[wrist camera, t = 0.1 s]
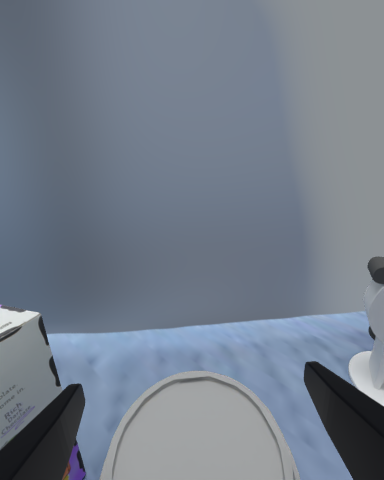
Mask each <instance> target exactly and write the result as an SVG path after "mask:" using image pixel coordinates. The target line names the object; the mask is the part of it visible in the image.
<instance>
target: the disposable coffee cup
mask: <svg viewBox="0 0 384 480" xmlns="http://www.w3.org/2000/svg"><path fill="white" fill-rule="evenodd" d="M100 480H300V476H299V473H298V470H297V467H296V464H295V462H294V459H293V456H292V453H291V450H290V449H289V447H288V445H287V443H286V441H285V439H284V436H283V434H282V432H281V430H280V428H279V427H278V425H277V423H276V421H275V419H274V417H273V416H272V414H271V412H270V410H269V409H268V408H267V407H266V406H265V405H264V404H263V403H262V401H261V400H260V399H259V398H258V397H257V396H256V395H255V394H254V393H253V392H252V391H251V390H249V389H248V388H247V387H245V386H244V385H242V384H241V383H240V382H238V381H236V380H234V379H232V378H230V377H228V376H225V375H221V374H217V373H212V372H208V371H189V372H183V373H178V374H175V375H172V376H169V377H167V378H165V379H163V380H161V381H159V382H158V383H156V384H155V385H153V386H152V387H150V388H149V389H147V390H146V391H145V392H144V393H143V394H142V395H141V396H140V397H139V398H138V399H137V400H136V401H135V402H134V403H133V404H132V406H131V407H130V408H129V410H128V411H127V413H126V414H125V415H124V417H123V418H122V420H121V422H120V424H119V426H118V428H117V430H116V432H115V434H114V436H113V438H112V441H111V444H110V448H109V451H108V454H107V457H106V459H105V461H104V465H103V469H102V472H101V476H100Z"/></svg>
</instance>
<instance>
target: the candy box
mask: <svg viewBox="0 0 384 480" xmlns="http://www.w3.org/2000/svg"><path fill="white" fill-rule="evenodd" d="M61 392H62V387H61V384H60V381H59V377H58V374H57V370H56V366H55V363H54V359H53V356H52V352H51V349H50V346H49V342H48V339H47V335H46V331H45V327H44V324H43V320H42V316H41V314H40V313H37V312H32V311H26V310H23V309H19V308H15V307H7V306H4V305H0V450H1V449H2V448H3V447H4V446H5V445H6V444H7V443H8V442H9V441H10V440H11V439H13V438H14V437H15V436H16V435H17V434H18V433H19V432H20V431H21V430H22V429H23V428H24V427H25V426H26V425H27V424H28V423H29V422H30V421H32V420H33V419H34V418H35V417H36V416H37V415H38V414H39V413H40V412H41V411H42V410H43V409H44V408H45V407H46V406H47V405H48V404H49V403H51V402H52V401H53V400H54V399H55V398H56V397H57V396H58V395H59V394H60V393H61ZM85 475H86V472H85V468H84V464H83V461H82V458H81V454H80V451H79V447H78V444H77V440H76V439H75V443H74V446H73V450H72V453H71V457H70V459H69V462H68V465H67V468H66V471H65V473H64V476H63V479H62V480H82V479H83V477H84V476H85Z"/></svg>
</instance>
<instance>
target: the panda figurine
mask: <svg viewBox="0 0 384 480" xmlns="http://www.w3.org/2000/svg"><path fill="white" fill-rule="evenodd" d="M368 269H369V271H370V274H371V276H372V278H373V279H372V281H371V282H370V284H369V285H368V287H367V289H366V291H365V294H364V307H365V310H366V313H367V317H368V320H369V324H370V327H369V334H370V336H371V337H372V338H373V339H374V340H375V342H374V346H373V350H372V351H365V352H361V353H358V354H356V355H355V356H353V357H352V359H351V360H350V363H349V376H350V378H351V381H352V383H353V385H354V386H355V387H356V388H357V389H359V390H360V391H362V392H363V393H365V394H366V395H368V396H369V397H371V398H372V399H374V400H375V401H377V402H378V403H380V404H381V405H383V406H384V257H374V258H372V259H371V260H370V261H369V263H368Z"/></svg>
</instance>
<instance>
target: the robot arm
mask: <svg viewBox="0 0 384 480" xmlns="http://www.w3.org/2000/svg"><path fill="white" fill-rule="evenodd" d="M304 382H305V385H306V387H307V390H308V392H309V394H310V396H311V399H312V401H313V403H314V405H315V407H316V410H317V412H318V414H319V416H320V418H321V421H322V423H323V425H324V427H325V429H326V431H327V433H328V435H329V436H330V438H331V440H332V442H333V444H334V445H335V447H336V449H337V451H338V453H339V454H340V456H341V458H342V460H343V462H344V463H345V465H346V467H347V469H348V471H349V472H350V474H351V476H352V478H353V480H384V406H383V405H381V404H380V403H378V402H377V401H375V400H374V399H372V398H371V397H369V396H368V395H366V394H365V393H363V392H362V391H360V390H359V389H357V388H356V387H354V386H353V385H351V384H350V383H348V382H347V381H345V380H344V379H342V378H341V377H339V376H338V375H336V374H335V373H333V372H332V371H330V370H329V369H327V368H326V367H324V366H323V365H321V364H320V363H318V362H316V361H312V362H306V363H305V370H304ZM84 407H85V397H84V392H83V388H82V385H81V384H71V385H69V386H67V387H66V388H65V389H64V390H63V391H62V392H61V393H60V394H59V395H58V396H57V397H56V398H55V399H54V400H53V401H52V402H51V403H49V404H48V405H47V406H46V407H45V408H44V409H43V410H42V411H41V412H40V413H39V414H38V415H37V416H36V417H35V418H34V419H33V420H32V421H30V422H29V423H28V424H27V425H26V426H25V427H24V428H23V429H22V430H21V431H20V432H19V433H18V434H17V435H16V436H15V437H14V438H13V439H11V440H10V441H9V442H8V443H7V444H6V445H5V446H4V447H3V448H2V449H1V450H0V480H62V479H63V476H64V473H65V471H66V468H67V465H68V462H69V459H70V457H71V453H72V450H73V446H74V443H75V439H76V436H77V432H78V428H79V425H80V421H81V418H82V414H83V410H84Z"/></svg>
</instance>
